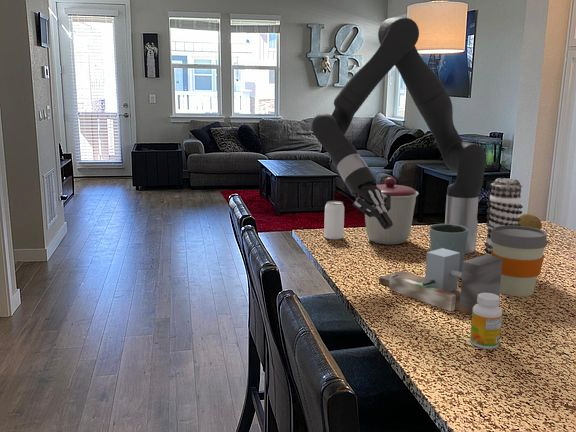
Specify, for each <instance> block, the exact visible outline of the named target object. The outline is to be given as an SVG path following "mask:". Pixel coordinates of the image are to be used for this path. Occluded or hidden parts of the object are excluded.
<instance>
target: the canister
mask: <svg viewBox="0 0 576 432" xmlns="http://www.w3.org/2000/svg"><path fill="white" fill-rule="evenodd" d="M396 183H397V180H396V179H395V178H394V177H387V178H385V179H384V183H383V184H376V186H377V187H378V188H379V189H380V190H381V193H383V194H385V195H386V194H387V193H389V194H390V195H391V209H390V210H389V211H388V212H387V214H388V216H389V218H390V219H391V221H392V223H393V225H392V226H391V227H390V228H389V229H384V228H383V227H382V226H381V224H380V223H379V221H378V220H377V219H376V218H375V217H373V216H372V217H369V216H367V215H366V214H364V221H365V231H366V236H367V238H368V239H369V240H370V241H371V242H372V243H375V244H380V245H381V244H382V245H386V246H387V245H388V246H389V245H391V246H392V245H394V246H395V245H400V244H403V243H405V242H407V241H408V239H409V237H410V234H411V229H412V224H413V220H414V219H413V218H414V217H413V216H414V212H415V205H416V201H417V196H419V194H420V193H419V192H418V191H417V190H416V189H414V188H412V187H411V186H407V185H399V184H396ZM366 210H367V209H366ZM367 211H368V210H367Z"/></svg>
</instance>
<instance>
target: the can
mask: <svg viewBox="0 0 576 432" xmlns="http://www.w3.org/2000/svg"><path fill="white" fill-rule="evenodd" d="M323 225H324V229H323V232H324V233H323V237H324V238H325V239H327V240H332V241H333V240H334V241H335V240H336V241H337V240H338V241H339V240H341V239H342V240H343V238H344V228H345V227H344V225H345V206H344V201H340V200H328V201H326V204H325V206H324V224H323Z"/></svg>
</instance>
